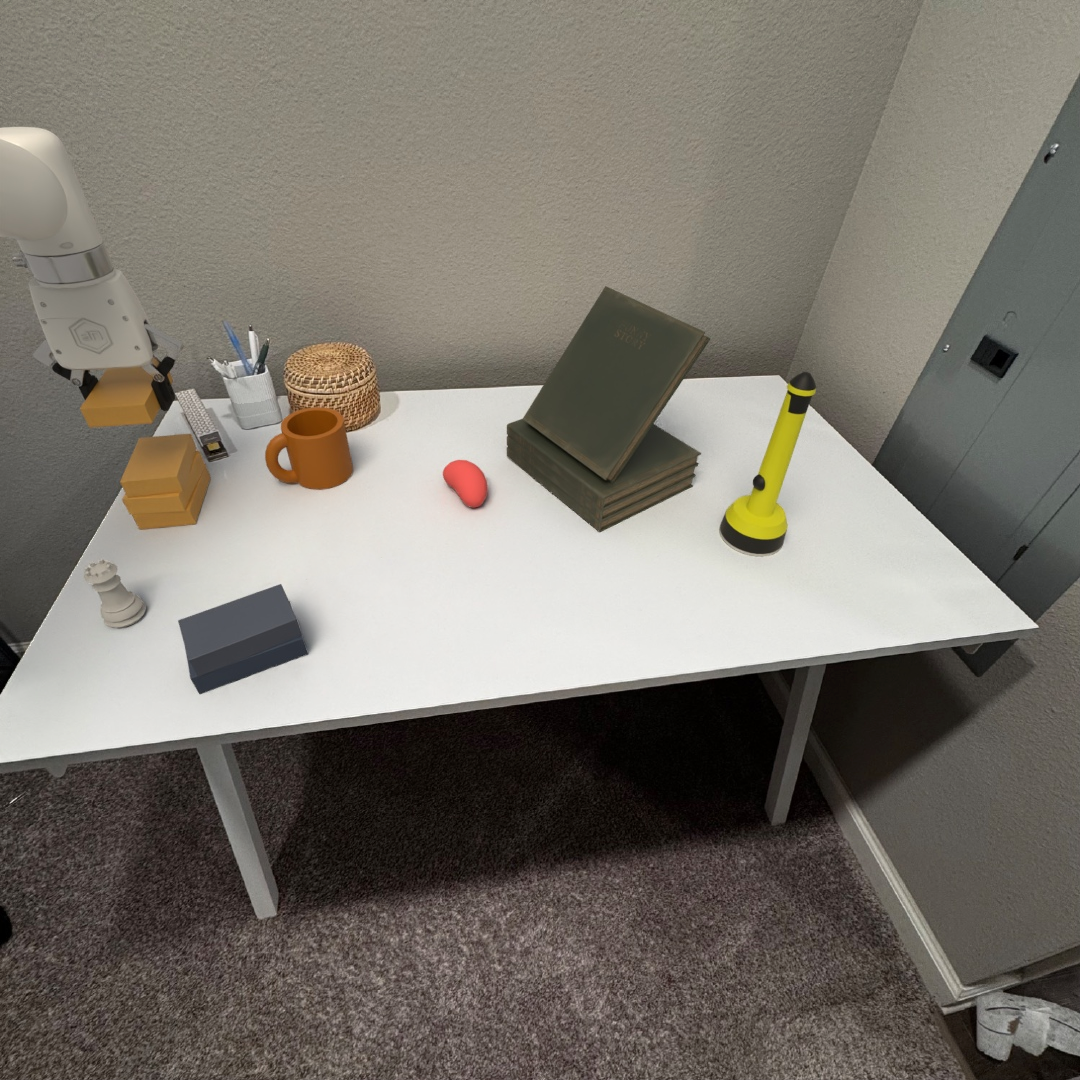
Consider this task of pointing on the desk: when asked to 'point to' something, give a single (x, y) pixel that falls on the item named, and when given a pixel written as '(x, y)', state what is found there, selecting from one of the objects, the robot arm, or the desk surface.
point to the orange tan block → (122, 399)
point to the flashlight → (769, 480)
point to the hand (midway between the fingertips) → (135, 406)
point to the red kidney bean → (466, 481)
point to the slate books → (241, 638)
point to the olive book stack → (611, 414)
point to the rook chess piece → (114, 595)
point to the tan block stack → (165, 482)
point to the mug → (312, 449)
